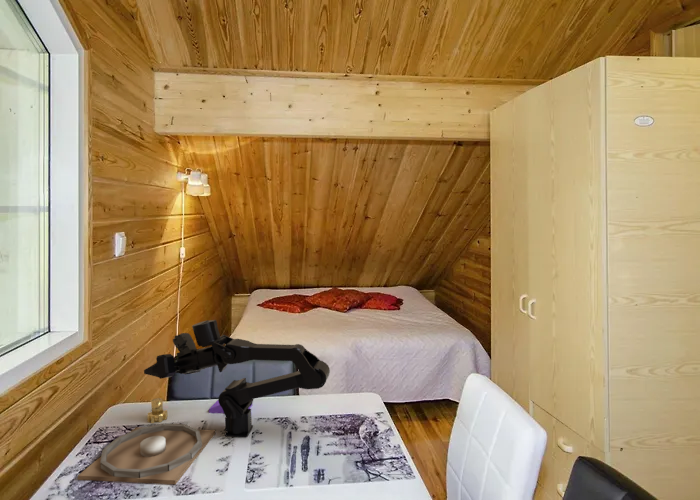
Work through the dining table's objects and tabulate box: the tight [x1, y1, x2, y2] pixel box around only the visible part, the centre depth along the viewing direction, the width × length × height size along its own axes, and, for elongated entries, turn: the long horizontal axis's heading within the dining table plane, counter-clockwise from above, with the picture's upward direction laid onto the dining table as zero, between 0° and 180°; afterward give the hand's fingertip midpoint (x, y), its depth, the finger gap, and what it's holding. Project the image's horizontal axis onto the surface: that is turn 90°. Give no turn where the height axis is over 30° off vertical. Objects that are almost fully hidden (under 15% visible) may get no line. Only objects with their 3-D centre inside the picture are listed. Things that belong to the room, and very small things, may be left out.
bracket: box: [208, 399, 253, 415], centre depth 141 cm, size 12×7×7 cm, turn 84°
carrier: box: [77, 423, 217, 485], centre depth 114 cm, size 24×24×4 cm
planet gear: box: [146, 397, 168, 424], centre depth 134 cm, size 6×6×6 cm
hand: (154, 370), depth 128 cm, fingers open, 9 cm apart
